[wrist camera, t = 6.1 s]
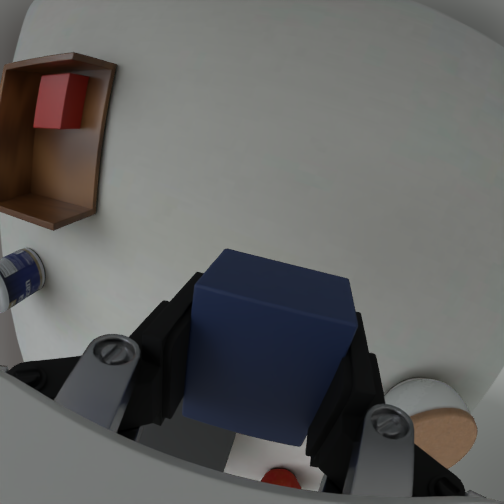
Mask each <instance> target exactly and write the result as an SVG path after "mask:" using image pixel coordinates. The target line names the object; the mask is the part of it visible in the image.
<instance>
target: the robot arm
mask: <svg viewBox="0 0 504 504" xmlns="http://www.w3.org/2000/svg"><path fill="white" fill-rule="evenodd" d="M203 274H204V273H200V272H196V273H195V274H194V276H193V277H192V278H191V279H190V280H189V281H188V282H187V283H186V284H185V286H184V287H183V288H182V289H181V290H180V291H179V292H178V293H177V294H176V296H175V297H174V298H173V299H172V300H171V301H170V302H168V301H162V302H161V303H160V304H159V305H158V306H157V307H156V308H155V309H154V311H153V312H152V313H151V314H150V315H149V316H148V317H147V318H146V319H145V320H144V321H143V322H142V323H141V325H140V326H139V327H138V328H137V329H136V330H135V331H134V332H133V333H132V334H131V335H130V336H129V337H126V336H124V335H119V334H107V335H103V336H99V337H98V338H96V339H94V340H93V341H92V342H91V343H90V344H89V346H88V347H87V349H86V350H85V352H84V353H83V355H82V356H76V357H68V358H59V359H50V360H40V361H29V362H23V363H20V364H18V365H16V366H14V367H13V368H12V369H10V370H8V367H7V366H1V365H0V504H504V502H501V501H497V500H493V499H489V498H486V497H484V496H482V495H480V494H478V493H475V492H473V491H471V490H469V491H467V492H465V489H464V485H463V484H462V482H461V480H460V479H459V478H458V477H457V476H456V475H454V474H453V473H452V472H450V471H449V470H448V469H447V468H445V467H444V466H443V465H441V464H440V463H439V462H438V461H436V460H435V459H434V458H432V457H431V456H430V455H429V454H427V453H426V452H425V451H424V450H422V449H421V448H420V447H419V446H417V445H416V444H415V443H414V424H413V422H412V420H411V418H410V417H409V415H408V414H407V413H406V412H404V411H403V410H401V409H400V408H398V407H396V406H393V405H389V404H385V398H384V393H383V388H382V383H381V377H380V373H379V368H378V363H377V358H376V355H375V354H373V353H369V351H368V346H367V341H366V336H365V331H364V326H363V321H362V317H361V313H360V312H356V316H357V322H358V328H357V330H356V333H355V335H354V337H353V340H352V342H351V345H350V347H349V349H348V352H347V354H346V356H345V357H342V360H341V362H340V364H339V366H338V369H337V371H336V373H335V375H334V377H333V380H332V382H331V384H330V386H329V388H328V390H327V392H326V394H325V397H324V399H323V401H322V403H321V405H320V407H319V409H318V411H317V413H316V415H315V417H314V419H313V421H312V423H311V424H310V426H309V428H308V434H307V444H306V456H311V462H310V466H312V467H319V469H320V470H321V471H322V472H323V473H324V476H323V478H322V481H321V484H320V487H319V490H318V492H317V491H310V490H303V489H297V488H291V487H285V486H280V485H274V484H269V483H265V482H260V481H255V480H251V479H247V478H243V477H239V476H235V475H231V474H227V473H224V472H220V471H217V470H213V469H210V468H206V467H203V466H200V465H197V464H194V463H191V462H188V461H185V460H182V459H179V458H176V457H173V456H171V455H168V454H165V453H162V452H160V451H157V450H155V449H152V448H150V447H147V446H145V445H142V444H140V443H139V442H140V439H141V436H142V432H143V429H144V425H148V424H152V423H154V424H156V425H159V426H161V425H162V423H163V422H164V420H165V418H168V419H171V418H172V417H173V415H174V413H175V411H176V409H177V408H178V406H179V404H180V402H181V400H182V398H183V396H184V385H185V374H186V363H187V352H188V342H189V333H190V323H191V311H192V302H193V294H194V285H195V284H196V282H197V281H198V280H199V279H200V278H201V276H202V275H203Z"/></svg>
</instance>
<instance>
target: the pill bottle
mask: <svg viewBox="0 0 504 504" xmlns="http://www.w3.org/2000/svg"><path fill="white" fill-rule="evenodd" d="M44 281H45V273H44V268H43V265H42V262H41V260H40V258H39V257H38V256H37V254H36V253H35V252H34V251H32V250H31V249H28V248H23V249H20V250H18V251H16V252H14V253H12V254H9V255H7V256H5V257H3V258H1V259H0V313H2V312H4V311H6V310H8V309H10V308H11V307H13V306H14V305H16V304H17V303H19V302H20V301H22V300H24V299H25V298H27V297H28V296H30V295H31V294H33V293H35V292H36V291H38V290H39V289H40V288H41V287H42V286H43V284H44Z"/></svg>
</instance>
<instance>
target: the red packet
mask: <svg viewBox="0 0 504 504" xmlns="http://www.w3.org/2000/svg"><path fill="white" fill-rule="evenodd" d="M88 80H89V76H84V75H79V74H74V73H61V74H51V75H42V77H41V82H40V87H39V92H38V98H37V104H36V111H35V118H34V125H33V128H46V129H80V126H81V119H82V113H83V107H84V101H85V96H86V90H87V85H88Z"/></svg>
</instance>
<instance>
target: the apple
mask: <svg viewBox="0 0 504 504" xmlns="http://www.w3.org/2000/svg"><path fill="white" fill-rule="evenodd" d="M261 482H265V483H269V484H274V485H280V486H285V487H291V488H297V489H301V486H300V485H299V483H298V481H297V479H296V477H295V475H294V474H292V473H291V472H290V471H288V470H286V469H271V470H270V471H268V472H267V473H266V474H265V476H264V477H263V478H262V480H261Z"/></svg>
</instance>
